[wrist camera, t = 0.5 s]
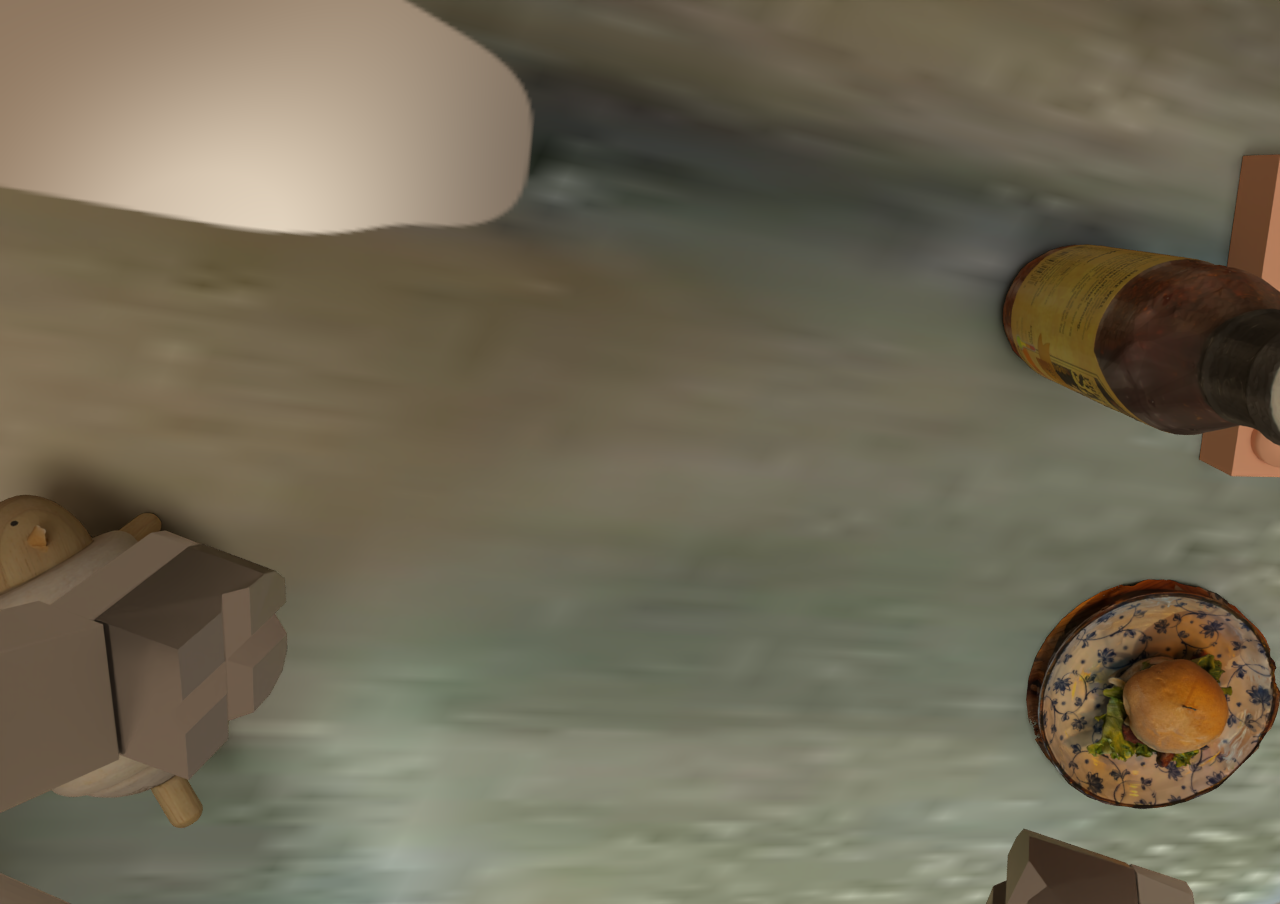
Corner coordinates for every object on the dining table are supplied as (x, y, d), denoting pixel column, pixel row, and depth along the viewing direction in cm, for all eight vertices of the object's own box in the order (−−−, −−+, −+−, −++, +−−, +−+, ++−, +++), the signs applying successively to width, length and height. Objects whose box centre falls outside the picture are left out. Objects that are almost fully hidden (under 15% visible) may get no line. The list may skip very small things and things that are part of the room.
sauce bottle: (985, 367, 51) (1184, 483, 32) (1012, 233, 50) (1238, 269, 31) (1122, 384, 52) (1402, 509, 32) (1153, 250, 50) (1467, 298, 31)
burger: (1024, 798, 57) (1078, 888, 50) (1024, 586, 54) (1081, 649, 47) (1257, 781, 57) (1345, 869, 50) (1269, 568, 54) (1364, 628, 47)
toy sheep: (150, 421, 53) (20, 484, 42) (338, 705, 56) (264, 830, 45) (-27, 521, 54) (-196, 607, 43) (168, 792, 57) (56, 934, 47)
